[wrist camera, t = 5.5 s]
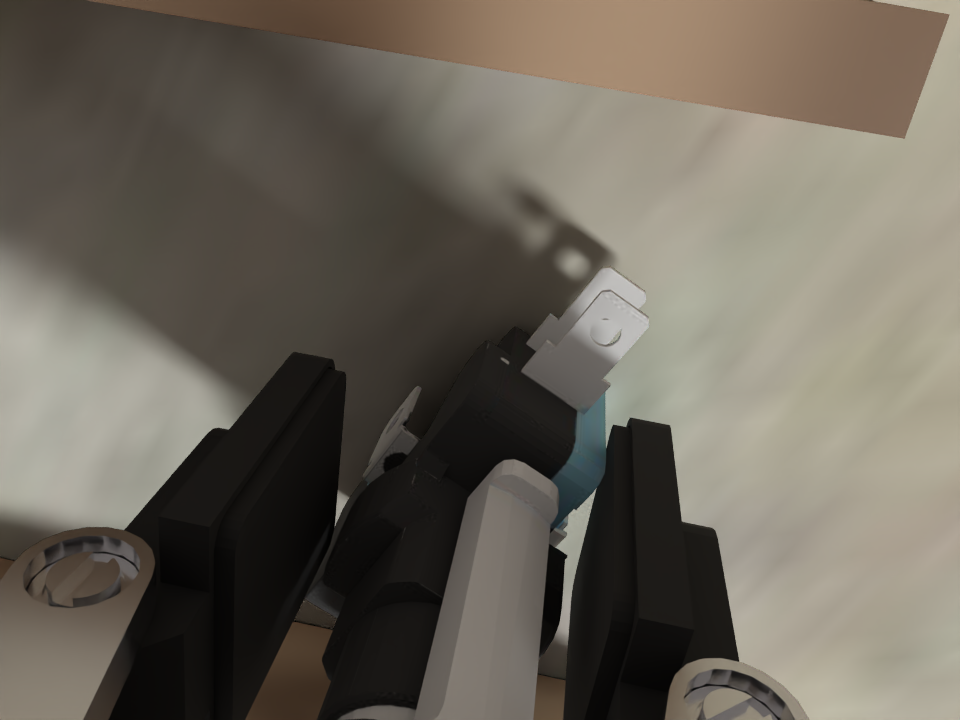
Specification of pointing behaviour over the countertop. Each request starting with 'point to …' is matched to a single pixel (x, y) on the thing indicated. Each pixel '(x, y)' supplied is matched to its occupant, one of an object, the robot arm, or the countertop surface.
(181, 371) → the countertop surface
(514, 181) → the countertop surface
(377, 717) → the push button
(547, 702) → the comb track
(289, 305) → the countertop surface
